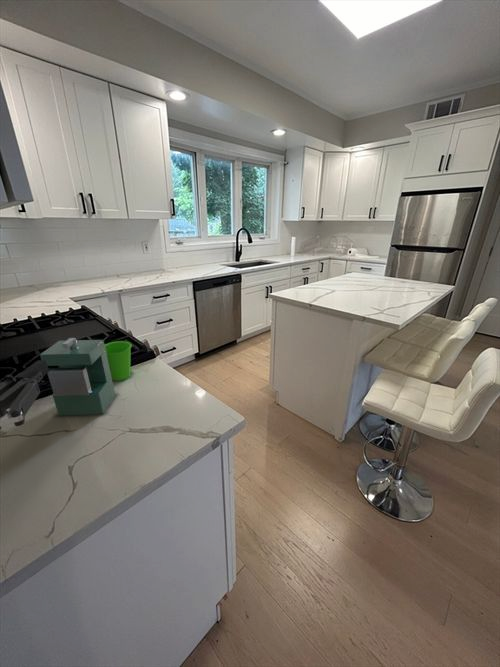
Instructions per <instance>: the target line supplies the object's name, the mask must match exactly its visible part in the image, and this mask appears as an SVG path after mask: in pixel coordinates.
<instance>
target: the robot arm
mask: <svg viewBox="0 0 500 667" xmlns="http://www.w3.org/2000/svg"><path fill="white" fill-rule="evenodd" d="M48 372H49V366H47V364H46V360H41V359H39V360H36V361H35V362H34V363H32V364H31V365H30V366H28V367H27V368H26V369H24V370H23V371H21V372H19V373H18V374H17V375H15V376H14V377H13V375H12V374H8V375H5V376H4V381H2V382H1V381H0V430H2V427H5V426H8V425H11V424H13V425H14V426H15V427H21V426H23V425H24V424H25V422H26V420H25V419H26V418H25V417H26V415H27V413H28V412H29V410H30V409H31V407H32V406H33V404H35V401H36V399H37V398H38V397H39V395H40V393H41V389H40V386H39V383H40V381H42V380H43V379H44V377H45V376H46V375H48V374H47V373H48Z"/></svg>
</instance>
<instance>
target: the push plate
mask: <svg viewBox="0 0 500 667" xmlns="http://www.w3.org/2000/svg"><path fill="white" fill-rule="evenodd" d="M48 370H49V372H48V373H47V374H46V375H47V377H48V380H49V382H50V386H51V389H52V392H53V393H52V394H54V396H71V395H89V394H90V393H91V392H92V390H91V386H90V382H89V378H88V374H87V370H86V367H76V368H59V367H50V368H48Z"/></svg>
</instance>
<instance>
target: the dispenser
mask: <svg viewBox="0 0 500 667" xmlns="http://www.w3.org/2000/svg"><path fill="white" fill-rule="evenodd" d="M39 357H40V360H46V364H47V367H54V366H57V367H58V368H76V367H86V370H87V374H88V378H89V382H90V386H91V390H92V392H91V393H90V394H89V395H71V396H54V393H52V399H53V401H54V405H55V407H56V411H57V415H58V416H80V415H82V416H84V415H104V414H105V413H106V411H107V409H108V408H109V406H110V405H111V403H112V402H113V400H114V399H115V397H116V392H115V387H114V383H113V382H114V381H113V379H112V377H111V373H110V368H109V364H108V359H107V354H106V349H105V341H104V339H77V338H75V337H69V338H68V339H67V340H58V341H56V342H55V343H54V344H53V345H51V346H50V347H48V348H47V349H46V350H44V351H42V352H41V353H40V354H39Z"/></svg>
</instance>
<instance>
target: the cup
mask: <svg viewBox="0 0 500 667" xmlns="http://www.w3.org/2000/svg"><path fill="white" fill-rule="evenodd" d="M104 345H105V349H106V354H107V359H108V364H109V368H110V373H111V378H112V381H114V382H115V381H116V382H120V381H125V380H127V379H128V378H130V376H131V348H132V347H133V345H132V343H131V342H129V341H126V340H117V341H112V342H111V341H110V342H108V343H104Z"/></svg>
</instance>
